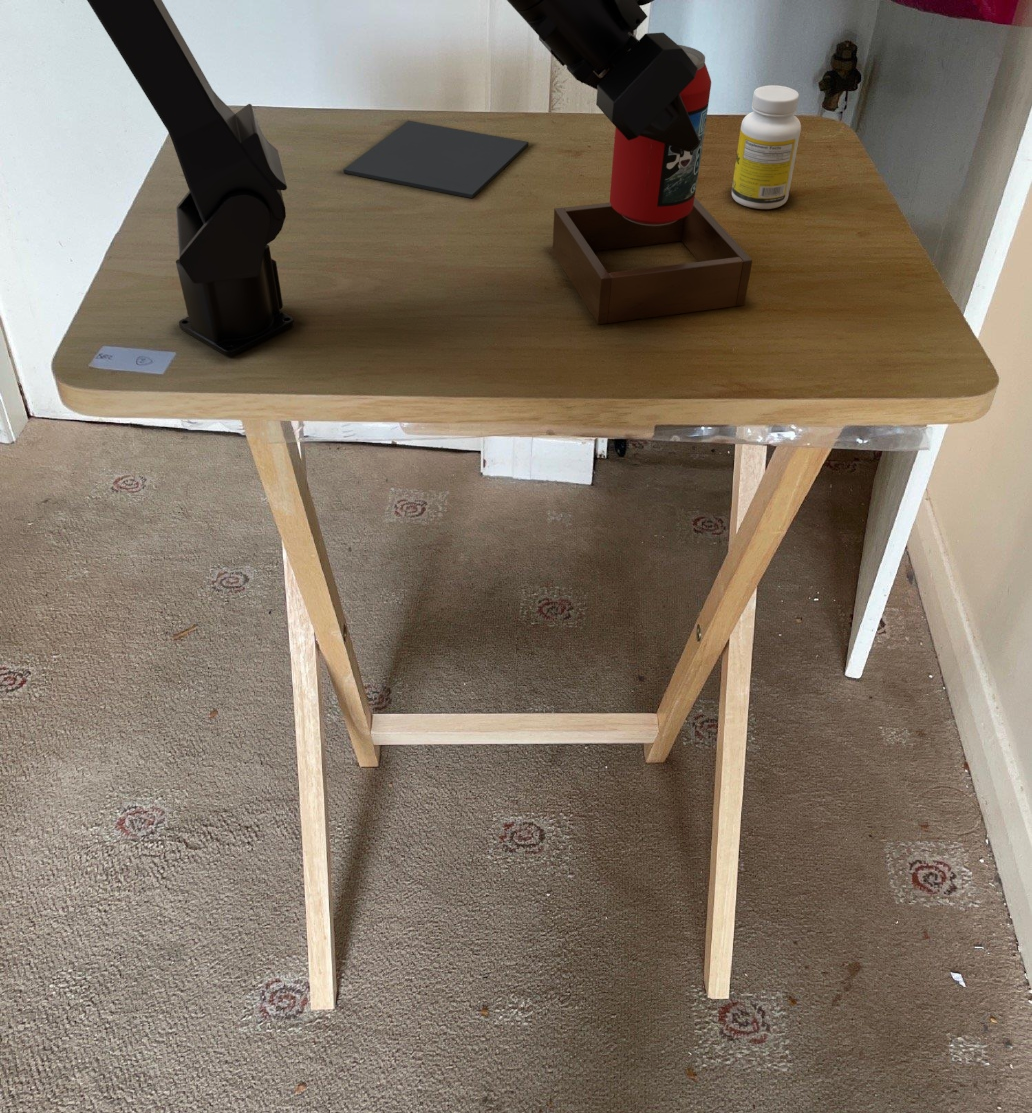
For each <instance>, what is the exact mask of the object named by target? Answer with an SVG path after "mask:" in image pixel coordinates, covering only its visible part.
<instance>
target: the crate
mask: <svg viewBox="0 0 1032 1113" xmlns="http://www.w3.org/2000/svg"><path fill="white" fill-rule="evenodd" d="M552 230H553V232H552V253H553V255H554V257H555V258H556V259H557V261H558V263H559V265H560V266H561V267H562V269H563V271H564V273H565V274H566V275H567V277H568V279H569V280H570V282H571V284H572V285H573V287H574V289H575V290H576V292H577V293H578V295H579V296H580V298H581V300H582V301H583V303H584V304H585V306H586V308H587V309H588V311H589V312H590V315H591V316H592V317H593V319H594V320H595V322H596V324H597V325H605V324H611V323H612V324H613V323H619V322H620V323H621V322H627V321H635V320H641V319H642V320H643V319H650V318H658V317H665V316H672V315H680V314H686V313H687V314H688V313H695V312H702V311H710V310H718V309H724V308H734V307H740V306H745V304H746V298H747V292H748V288H749V282H750V275H751V271H752V265H753V259H752V258H751V257H750V256H749V255H748V253H746V251H745V250H744V249H743V248H742V247H741V246H740V244H738V243H737V241H736V240H735V239H734V238H733V237H732V236H731V235H730V234H729V233H728V232H727V230H726V229H725V228H724V226H722V224H720V223H719V222H718V221H717V219H716V218H715V217H714V216H713V215H712V214H711V212H709V210H708V209H707V208H706V207H705V206H704V205H703V204H702V202H700V201H699V200H698V199H697V197H695V198H694V204H693V209H692V211H691V212H690V213H689V214H688V215H687V216H685V217H683V218H681V219H679V220H677V221H675V222H673V223H671V224H668V225H662V226H647V225H640V224H636V223H633V222H631V221H629V220H627V219H625V218H624V217H623V216H622V215H621V214H619V213H618V212H617V211H615V210H614V209H613V208H612V206H611V204H610V202H604V203H603V202H602V203H592V204H584V205H574V206H565V207H564V206H563V207H555V208H553V229H552ZM677 242H682V244H684V246H685V247H686V248H687V249H688V250H689V252H690V253H691V254H692V255H693V257H694V258H695V260H697V261H694V262H688V263H687V262H686V263H678V264H677V263H676V264H669V265H661V266H653V267H645V268H637V269H629V270H620V271H613V272H612V271H611V272H608V271H607V269H606V268H605V266H604V265H603V264H602V262H601V260H600V259H599V258H598V256H597V255H596V254H595V252H600V251H607V250H608V251H609V250H617V249H625V248H632V247H641V246H650V245H659V244H667V243H677Z"/></svg>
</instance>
